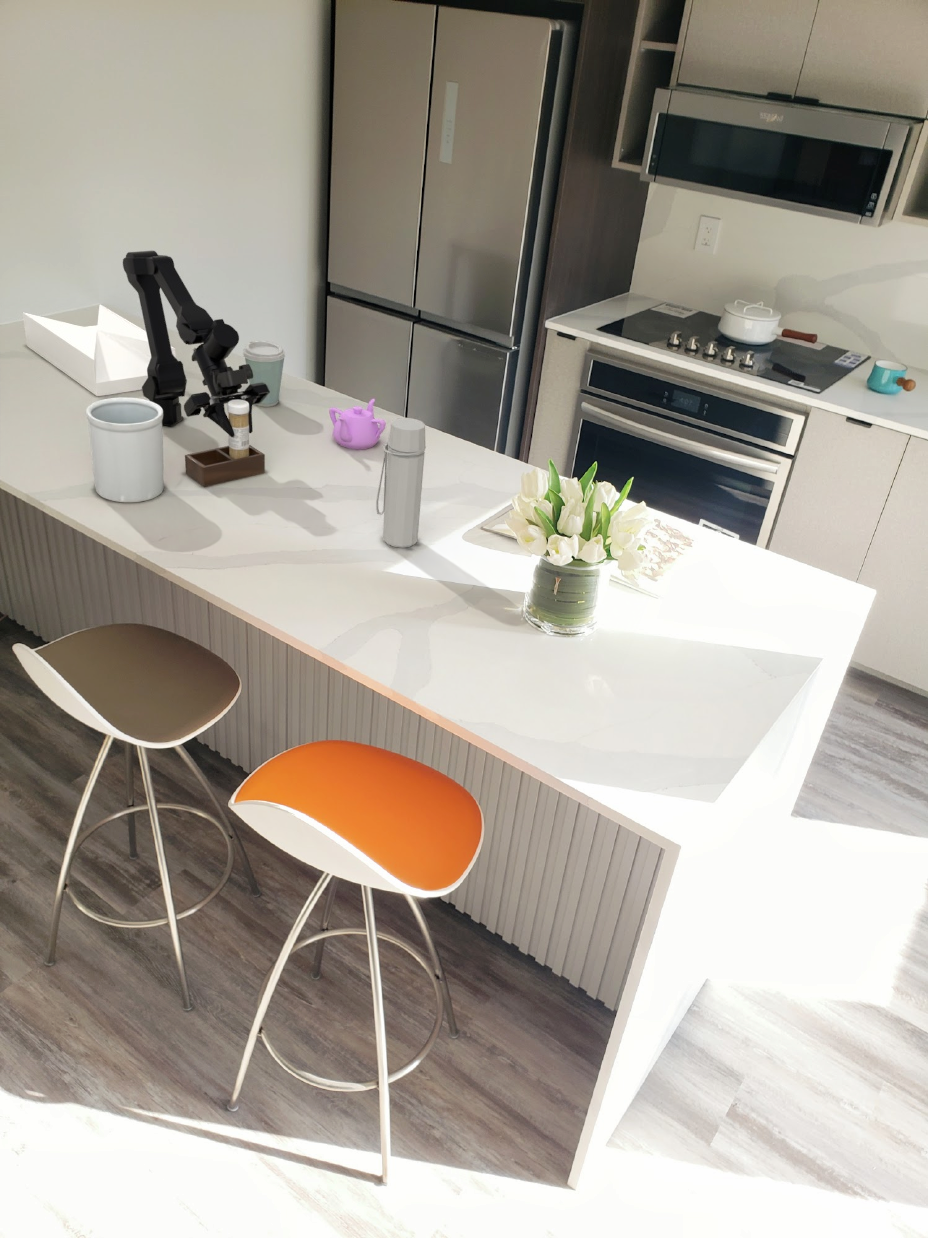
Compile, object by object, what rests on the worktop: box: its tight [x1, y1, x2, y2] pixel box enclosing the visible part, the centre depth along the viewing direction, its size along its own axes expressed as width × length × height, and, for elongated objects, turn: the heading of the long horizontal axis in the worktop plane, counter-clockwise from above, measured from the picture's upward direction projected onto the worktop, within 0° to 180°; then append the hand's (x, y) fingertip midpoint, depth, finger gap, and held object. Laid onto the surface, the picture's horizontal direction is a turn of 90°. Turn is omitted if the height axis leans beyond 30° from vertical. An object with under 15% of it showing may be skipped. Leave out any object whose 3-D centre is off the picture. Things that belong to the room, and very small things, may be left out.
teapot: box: [328, 398, 387, 450], centre depth 245 cm, size 12×14×9 cm
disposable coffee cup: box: [242, 340, 286, 408], centre depth 260 cm, size 11×11×15 cm
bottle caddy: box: [184, 444, 266, 488], centre depth 223 cm, size 8×15×4 cm, turn 132°
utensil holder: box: [85, 397, 165, 503], centre depth 208 cm, size 15×15×18 cm
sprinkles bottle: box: [227, 399, 250, 459], centre depth 222 cm, size 5×5×14 cm
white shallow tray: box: [22, 304, 177, 397], centre depth 274 cm, size 45×22×10 cm, turn 42°
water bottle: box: [375, 417, 427, 549], centre depth 198 cm, size 9×8×25 cm
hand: (242, 434), depth 221 cm, fingers closed on sprinkles bottle, 4 cm apart
